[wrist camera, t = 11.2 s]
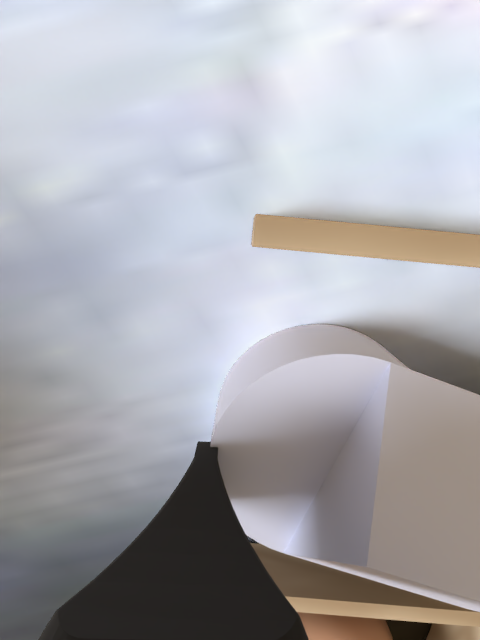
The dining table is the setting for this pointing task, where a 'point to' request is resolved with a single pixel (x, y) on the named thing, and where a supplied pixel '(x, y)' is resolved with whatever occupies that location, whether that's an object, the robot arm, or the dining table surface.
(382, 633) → the tan smooth rounded piece
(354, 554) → the wedge on round base
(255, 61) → the dining table surface
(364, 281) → the dining table surface
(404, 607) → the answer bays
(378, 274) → the dining table surface
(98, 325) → the dining table surface
